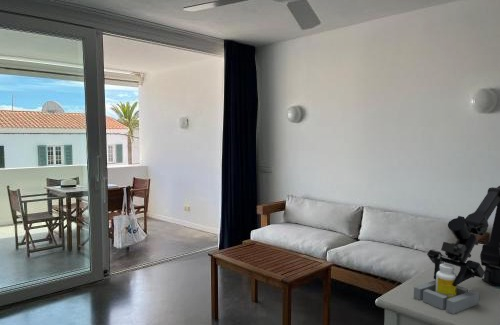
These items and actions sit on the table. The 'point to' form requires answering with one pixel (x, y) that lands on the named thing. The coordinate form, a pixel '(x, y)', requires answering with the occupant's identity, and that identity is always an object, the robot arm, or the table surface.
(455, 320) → the table surface
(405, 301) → the table surface
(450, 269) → the supplement bottle
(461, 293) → the cup holder
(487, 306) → the table surface
